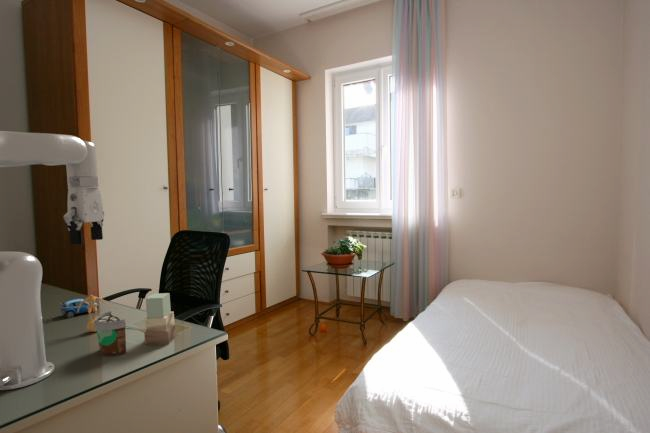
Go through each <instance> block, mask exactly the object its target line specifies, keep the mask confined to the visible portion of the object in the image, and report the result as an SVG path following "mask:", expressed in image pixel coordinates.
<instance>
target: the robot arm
mask: <svg viewBox="0 0 650 433" xmlns="http://www.w3.org/2000/svg"><path fill="white" fill-rule="evenodd" d="M97 164H98V163H97V150H96V145H95V143H93V142H91V141H87V140H83V139H81V138H80V137H78V136H75V135H71V134H59V133H57V134H56V133H47V132H46V133H45V132H44V133H43V132H42V133H41V132H25V131H24V132H23V131H22V132H21V131H12V130H11V131H10V130H0V168H9V167H10V168H11V167H12V168H15V167H23V166H30V165H44V166H63V165H65V166H66V167H65V168H66V177H67V178H66V179H67V180H66V181H67V189H68V190H67V212H66V213H65V214H64V215H63V220H64V222H65V225H66V227H67V230H68V231H69V240H70V242H69V243H70V245H83V243H84V240H83V239H84V238H83V229H81V228H82V226H83V223H87V224H88V223H89V224H90V225H91V226H90V237H91V241H101V240H103V239H104V235H103V226H104V224H103V222H104V220H105V219H104V216H105V211H104V208H103V199H102V195H101V191H100V188H99V179H98V165H97ZM42 280H43V266H42V264H41V262H40V260H39V259H38V258H37V257H35V256H34V255H33V254H30V253H28V252H23V251H11V250H10V251H1V250H0V391H9V390H15V389H16V390H17V389H19V388H23V387H27V386H29V385H33V384H35V383H38V382H40V381H42V380H44V379H46V378H48V377H49V376H51V375H52V374H53V372H54V371H55V363H53V362H51V361H47V358H46V347H45V334H44V324H43V323H44V322H43V313H42V304H41V290H42V288H41V287H42Z"/></svg>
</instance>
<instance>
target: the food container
mask: <svg viewBox="0 0 650 433" xmlns="http://www.w3.org/2000/svg"><path fill="white" fill-rule="evenodd" d="M96 316H97V317H96V318H95V317H94V319H95V320H94V325H93V328H95V329H96V330H97V331H96V333H97V340H98V347H99V352H100V355H101V356H104V357H114V356H120V355H121V356H122V355H124V354H127V341H126V327H127V324H126V319H120V318H119V317H117V316H114V315H112V311H107V312H104V313H101V314H99V315H96Z"/></svg>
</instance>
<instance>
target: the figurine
mask: <svg viewBox="0 0 650 433" xmlns="http://www.w3.org/2000/svg"><path fill="white" fill-rule="evenodd" d="M96 300H98V301H99V300H100V301H101V302H102V303H103V304H104V306H105V307H106V308H107V307H108V306H107V302H106V301H105V300H104V299H103V298H101V297H98V296H94V295H93V294H90V295H89V296H88V297H86V298H85V299H84V300H83V301H82V302H80V305H79V307H78V311H77V312H79V308H80V307H81V304H82V303H83V302H85V301H87V302H88V303H89V304H90V307H89V306H88V307H87V308H88V312H87V313H88V316H89V321H88V323H87V324H86V328H87V330H88V331H89V332H91V333H97V330H96V329H95V328H93V325H94V320H95V318H96V317H97V316H98V315H97V314H98V310H97V305H94V303H96ZM91 308H93V310H94V311H95V312H94V319H93V318H92V313H91V311H92V309H91Z"/></svg>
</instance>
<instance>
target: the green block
mask: <svg viewBox="0 0 650 433" xmlns="http://www.w3.org/2000/svg"><path fill="white" fill-rule="evenodd" d="M170 294H171V293H169V292H163V293H162V292H161V293H152V294H150V295H149V296H147V297H146V298H145V309H146V318H164V317H165V316H167V315H168V314H169V313H170V312H172V311H171V310H172V309H171V295H170Z"/></svg>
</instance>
